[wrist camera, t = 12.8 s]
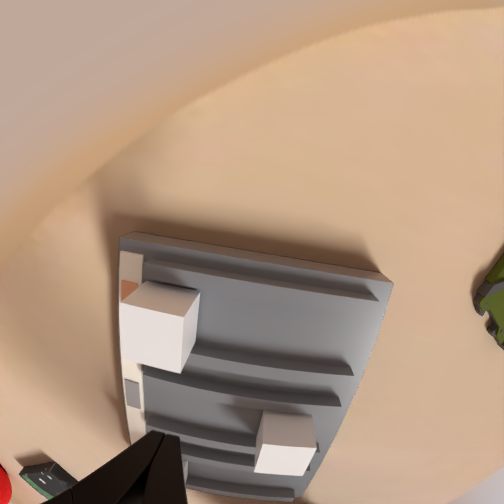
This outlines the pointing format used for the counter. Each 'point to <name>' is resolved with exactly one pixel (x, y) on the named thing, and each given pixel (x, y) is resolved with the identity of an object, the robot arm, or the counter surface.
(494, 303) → the gun
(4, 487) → the tomato
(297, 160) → the counter surface
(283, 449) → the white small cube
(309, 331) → the switch bank
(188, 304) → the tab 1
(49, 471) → the disk drive
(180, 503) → the robot arm
